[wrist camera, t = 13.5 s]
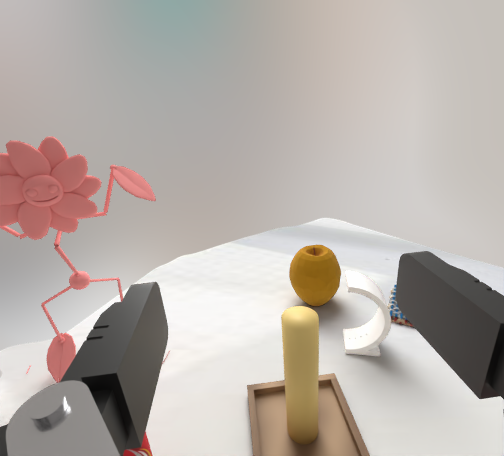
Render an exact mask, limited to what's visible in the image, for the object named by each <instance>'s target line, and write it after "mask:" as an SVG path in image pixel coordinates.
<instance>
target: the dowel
mask: <svg viewBox="0 0 504 456" xmlns="http://www.w3.org/2000/svg"><path fill="white" fill-rule="evenodd" d="M281 318H282V338H283V357H284V377H285V396H286V415H287V431H288V434H289V436H290V437H291V439H292V440H294V441H295V442H297V443H299V444H310V443H312V442H313V441H314V440H315V439H316V438H317V435H318V370H319V317H318V314H317V313H316V312H315V311H314V310H312V309H311V308H308V307H304V306H294V307H290V308H288V309H286V310H285V311H284V312H283V314H282V317H281Z"/></svg>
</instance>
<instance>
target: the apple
mask: <svg viewBox="0 0 504 456" xmlns="http://www.w3.org/2000/svg"><path fill="white" fill-rule="evenodd" d="M340 275H341V270H340V266H339V264H338V261H337V259H336V256H335V255H334V253H333V252H332V250H330V249H329V248H327V247H325V246H323V245H312V246H306V247H304V248H302V249H300V250H299V251H298V252H297V253H296V255H295V256H294V258H293V260H292V262H291V265H290V280H291V284H292V287H293V288H294V290H295V292H296V293H297V295H298V296H299V297H300V298H301V299H302V300H303V301H304V302H306V303H307V304H309V305H311V306H320V305H324V304H325V303H327V302H328V301H329V300H330V299H331V298H332V297H333V296H334V295H335V293H336V292H337V290H338V288H339V283H340Z"/></svg>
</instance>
